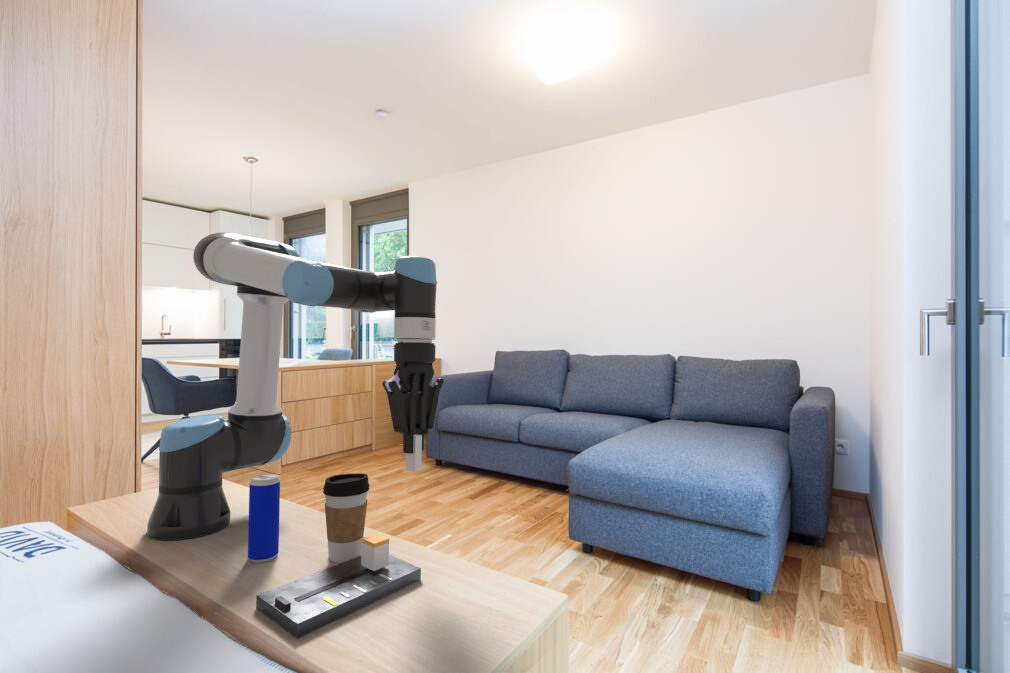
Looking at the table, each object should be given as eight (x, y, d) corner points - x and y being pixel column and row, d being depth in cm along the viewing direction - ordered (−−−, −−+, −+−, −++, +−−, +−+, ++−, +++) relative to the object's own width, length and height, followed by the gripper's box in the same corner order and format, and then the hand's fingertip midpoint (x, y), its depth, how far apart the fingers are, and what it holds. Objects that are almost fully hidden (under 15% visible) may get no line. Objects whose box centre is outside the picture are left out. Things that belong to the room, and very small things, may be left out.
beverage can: (284, 555, 93) (286, 475, 93) (260, 565, 88) (262, 481, 88) (265, 549, 95) (267, 472, 95) (241, 560, 90) (243, 478, 91)
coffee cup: (354, 568, 88) (356, 483, 88) (312, 563, 89) (313, 480, 90) (376, 549, 96) (377, 472, 96) (336, 545, 98) (338, 469, 98)
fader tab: (361, 564, 83) (361, 538, 83) (375, 559, 86) (376, 533, 86) (374, 571, 81) (374, 543, 81) (388, 565, 83) (389, 538, 84)
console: (256, 608, 74) (256, 589, 74) (377, 560, 91) (377, 544, 91) (297, 638, 66) (297, 617, 66) (420, 580, 83) (420, 563, 84)
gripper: (400, 340, 83) (398, 481, 82) (454, 342, 93) (453, 466, 93) (373, 341, 88) (371, 473, 87) (427, 342, 98) (426, 461, 97)
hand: (413, 470), depth 90 cm, fingers closed
